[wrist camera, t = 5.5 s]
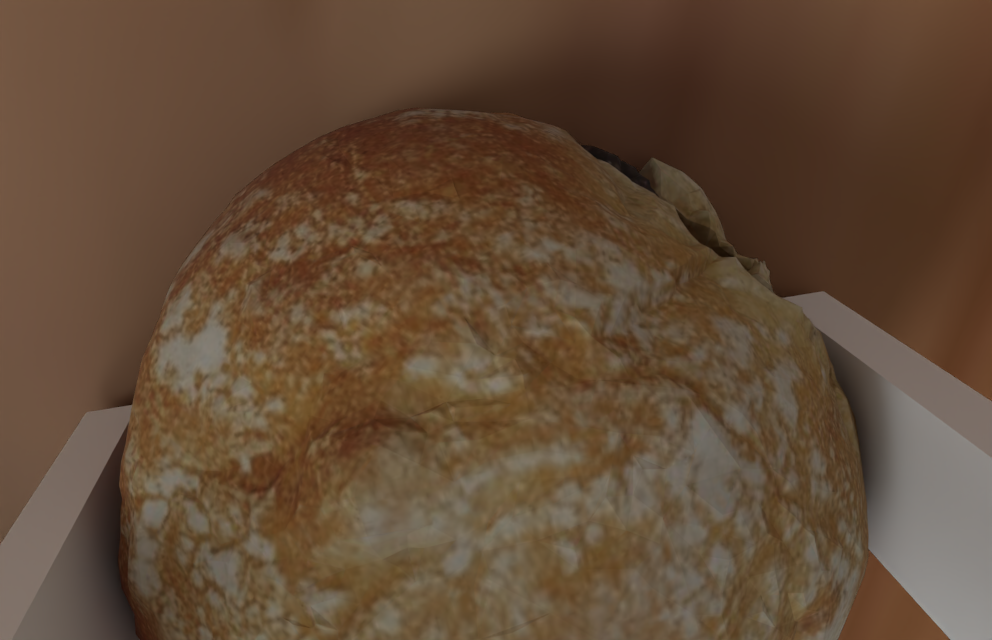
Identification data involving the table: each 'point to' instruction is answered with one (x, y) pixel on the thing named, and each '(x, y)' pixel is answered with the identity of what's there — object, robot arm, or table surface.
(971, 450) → the robot arm
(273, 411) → the bread roll
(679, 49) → the table surface
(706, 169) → the table surface
